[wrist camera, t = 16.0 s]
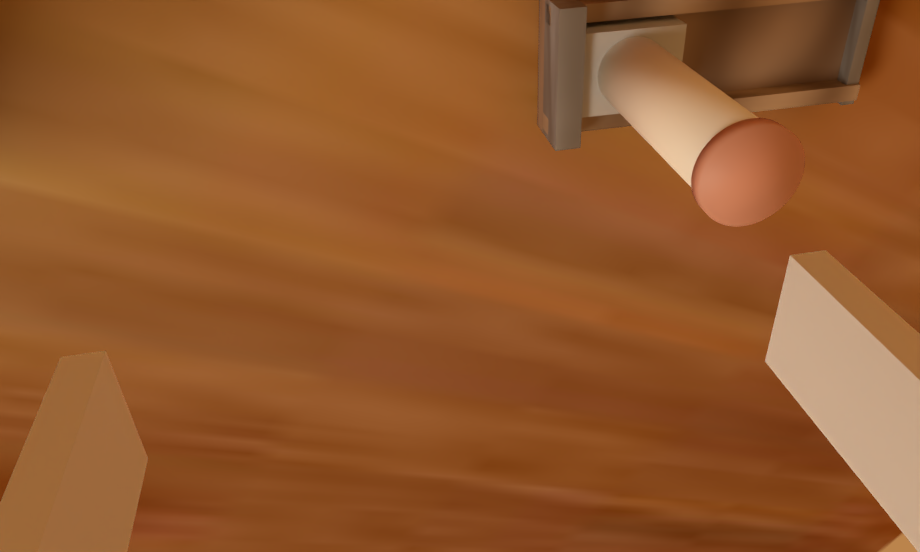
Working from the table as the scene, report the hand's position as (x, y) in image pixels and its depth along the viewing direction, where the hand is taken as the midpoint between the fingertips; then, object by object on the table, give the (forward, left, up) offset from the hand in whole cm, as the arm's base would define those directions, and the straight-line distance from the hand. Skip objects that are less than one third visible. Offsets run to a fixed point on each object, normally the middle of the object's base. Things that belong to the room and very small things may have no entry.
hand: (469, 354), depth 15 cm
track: (+20, -5, -32) cm, 38 cm away
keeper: (+14, -5, -30) cm, 34 cm away
